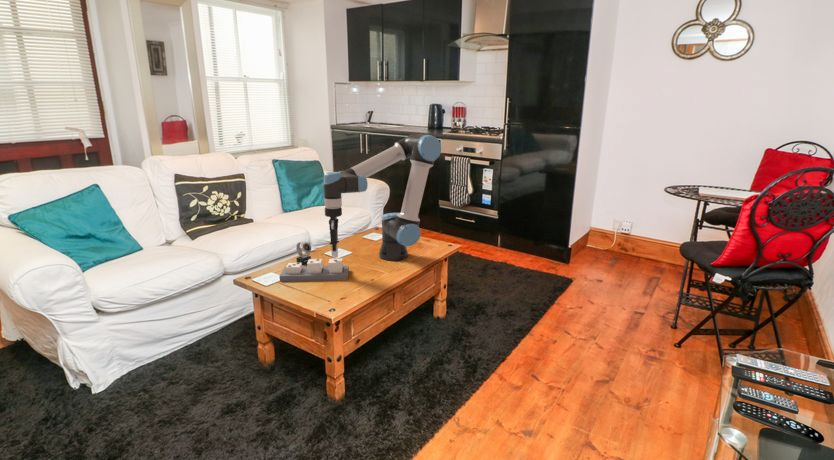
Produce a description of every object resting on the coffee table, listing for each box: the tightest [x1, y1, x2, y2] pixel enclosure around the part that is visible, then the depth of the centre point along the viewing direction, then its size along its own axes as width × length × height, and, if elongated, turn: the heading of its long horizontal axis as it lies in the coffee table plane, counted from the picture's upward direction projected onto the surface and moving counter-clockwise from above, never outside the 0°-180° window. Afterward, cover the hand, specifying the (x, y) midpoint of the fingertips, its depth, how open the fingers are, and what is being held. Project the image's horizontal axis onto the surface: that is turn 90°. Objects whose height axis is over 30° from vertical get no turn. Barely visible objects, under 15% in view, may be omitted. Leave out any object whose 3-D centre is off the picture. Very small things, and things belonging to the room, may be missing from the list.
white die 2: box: [327, 257, 344, 273], centre depth 209 cm, size 6×6×5 cm
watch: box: [295, 240, 312, 266], centre depth 225 cm, size 6×8×11 cm
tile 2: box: [306, 258, 323, 274], centre depth 208 cm, size 6×6×5 cm
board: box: [279, 265, 350, 282], centre depth 209 cm, size 30×12×2 cm, turn 94°
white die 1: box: [285, 262, 303, 274], centre depth 208 cm, size 6×6×5 cm
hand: (334, 256), depth 208 cm, fingers closed
